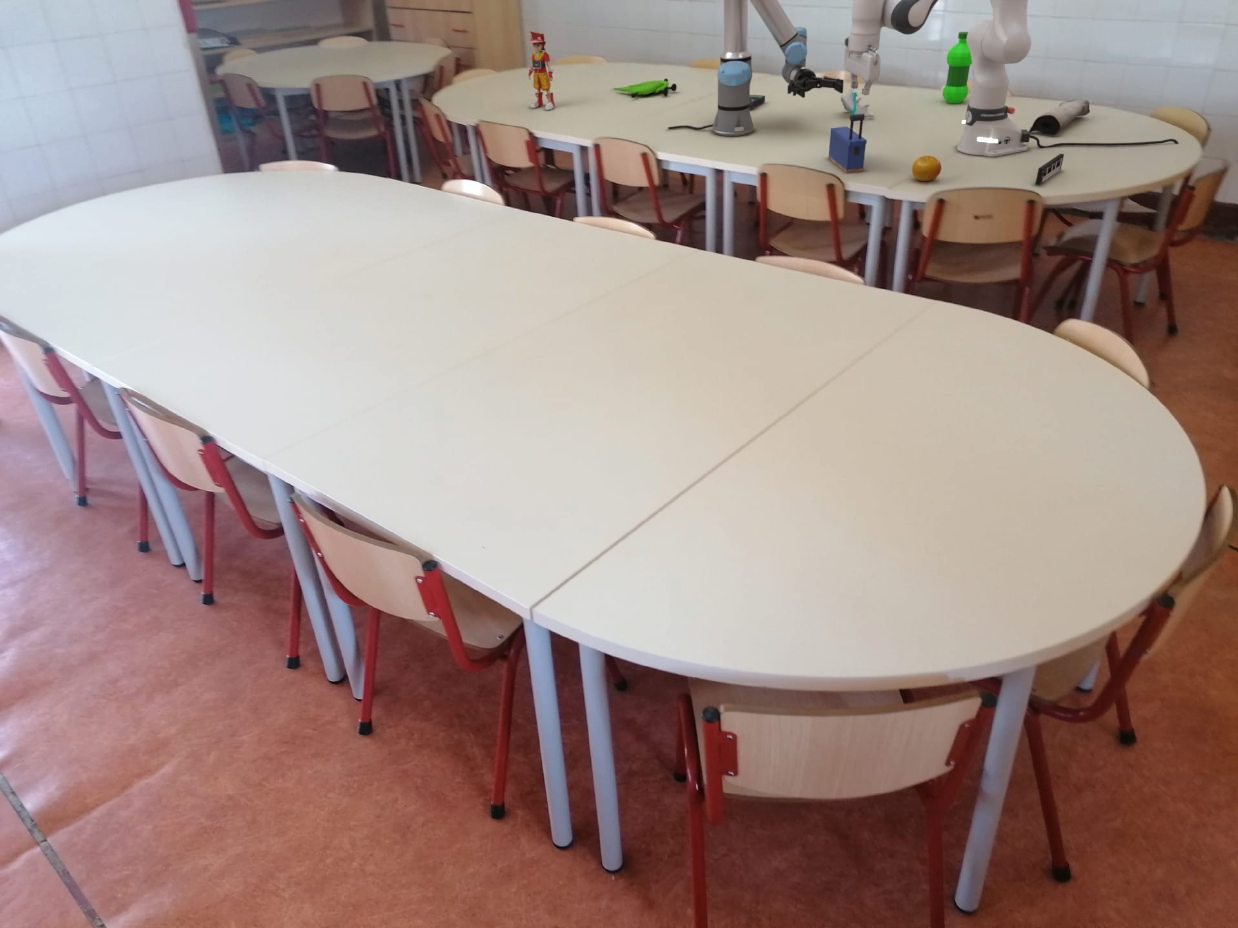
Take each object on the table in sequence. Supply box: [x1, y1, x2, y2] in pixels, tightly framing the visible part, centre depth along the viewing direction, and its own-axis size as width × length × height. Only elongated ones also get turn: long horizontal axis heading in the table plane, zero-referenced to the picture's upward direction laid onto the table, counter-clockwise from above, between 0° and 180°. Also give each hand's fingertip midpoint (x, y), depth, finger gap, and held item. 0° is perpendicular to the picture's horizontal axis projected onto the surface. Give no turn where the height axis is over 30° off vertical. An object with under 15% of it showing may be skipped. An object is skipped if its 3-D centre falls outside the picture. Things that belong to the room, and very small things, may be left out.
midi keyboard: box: [1035, 153, 1065, 186], centre depth 273 cm, size 18×1×5 cm, turn 138°
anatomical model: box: [840, 88, 875, 118], centre depth 344 cm, size 15×10×10 cm
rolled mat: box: [1028, 99, 1091, 137], centre depth 319 cm, size 30×9×10 cm
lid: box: [830, 114, 868, 145], centre depth 289 cm, size 17×6×9 cm, turn 9°
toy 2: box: [612, 78, 677, 99], centre depth 396 cm, size 28×5×30 cm
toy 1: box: [527, 31, 556, 111], centre depth 374 cm, size 12×9×30 cm
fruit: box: [911, 155, 942, 182], centre depth 277 cm, size 8×8×8 cm
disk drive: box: [749, 94, 766, 111], centre depth 366 cm, size 10×3×15 cm
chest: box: [828, 131, 867, 174], centre depth 294 cm, size 17×6×9 cm, turn 9°
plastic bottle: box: [942, 31, 972, 104], centre depth 348 cm, size 10×10×25 cm
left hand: (823, 91), depth 309 cm, fingers open, 13 cm apart
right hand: (859, 91), depth 278 cm, fingers open, 8 cm apart
